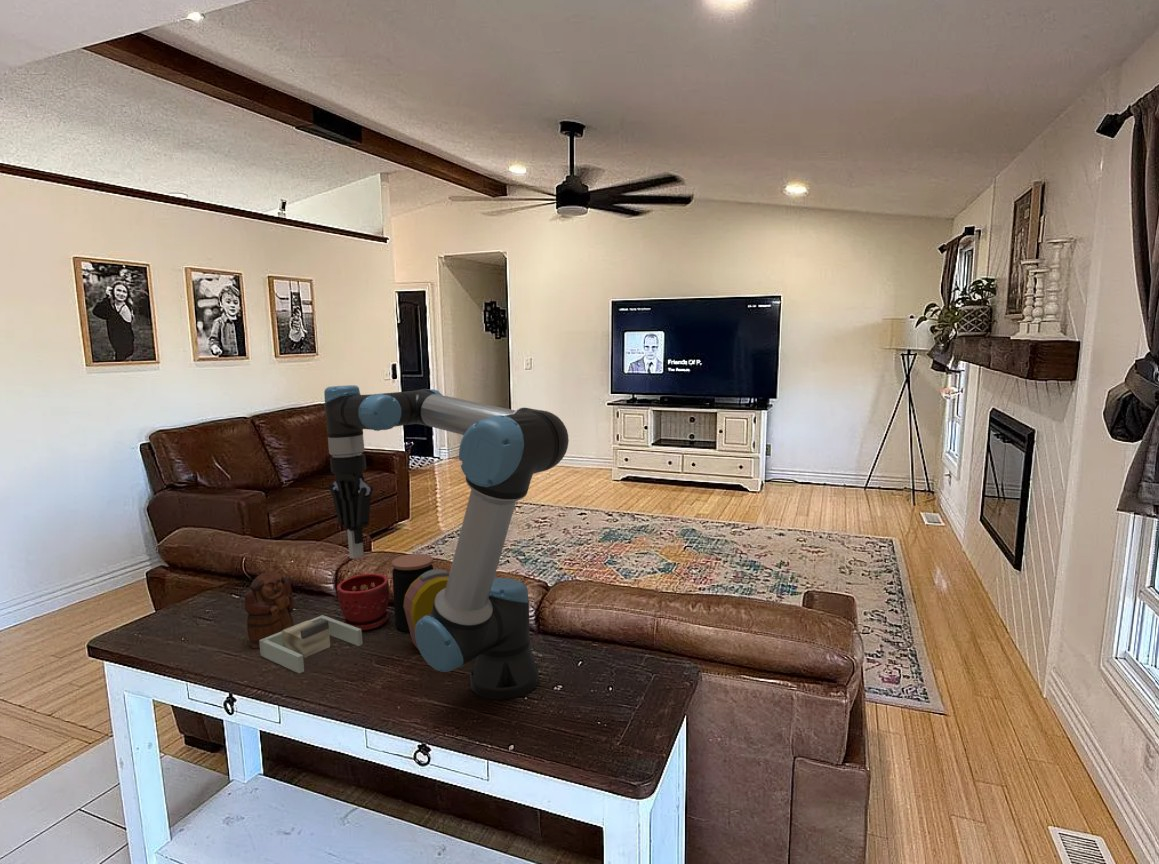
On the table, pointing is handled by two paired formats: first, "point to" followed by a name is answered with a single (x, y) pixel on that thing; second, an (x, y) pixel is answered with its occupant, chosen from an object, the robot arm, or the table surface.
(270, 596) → the wooden figurine
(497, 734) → the table surface
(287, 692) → the table surface
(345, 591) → the plant pot
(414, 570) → the coffee jar
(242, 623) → the table surface
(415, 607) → the alarm clock
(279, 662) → the dock
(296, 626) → the beige block
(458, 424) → the robot arm
